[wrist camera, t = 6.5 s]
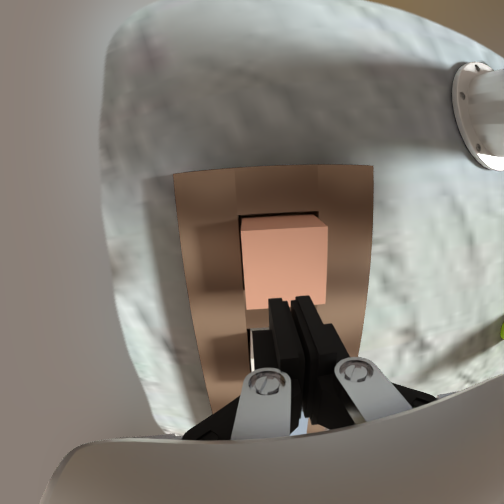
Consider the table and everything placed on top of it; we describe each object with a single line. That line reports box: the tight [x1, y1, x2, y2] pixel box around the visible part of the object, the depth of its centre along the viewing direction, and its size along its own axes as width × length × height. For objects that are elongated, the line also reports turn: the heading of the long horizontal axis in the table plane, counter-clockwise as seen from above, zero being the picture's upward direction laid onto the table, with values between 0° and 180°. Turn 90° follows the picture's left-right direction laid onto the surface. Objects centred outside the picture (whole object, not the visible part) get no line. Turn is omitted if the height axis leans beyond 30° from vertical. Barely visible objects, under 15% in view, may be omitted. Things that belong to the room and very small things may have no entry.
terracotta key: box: [241, 214, 328, 310], centre depth 19 cm, size 5×5×4 cm
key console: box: [173, 164, 374, 434], centre depth 25 cm, size 30×14×4 cm, turn 3°
